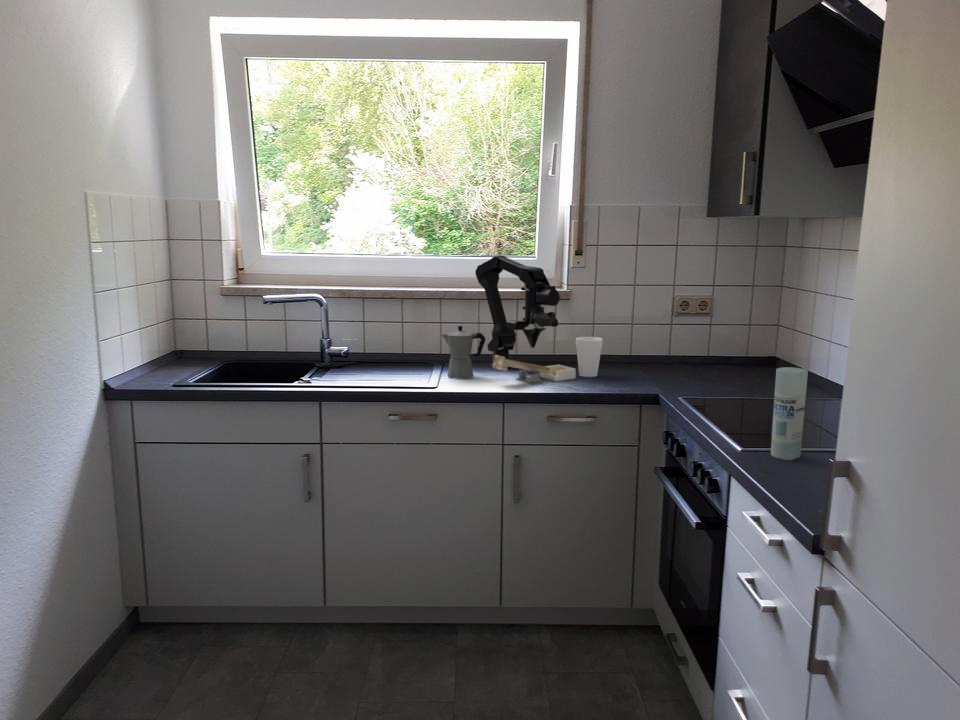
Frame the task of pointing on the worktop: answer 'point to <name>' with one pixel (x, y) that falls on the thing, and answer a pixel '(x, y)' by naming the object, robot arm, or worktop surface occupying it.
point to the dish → (559, 373)
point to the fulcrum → (532, 380)
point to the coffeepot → (462, 352)
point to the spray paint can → (788, 412)
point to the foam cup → (588, 355)
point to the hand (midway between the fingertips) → (532, 347)
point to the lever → (517, 365)
